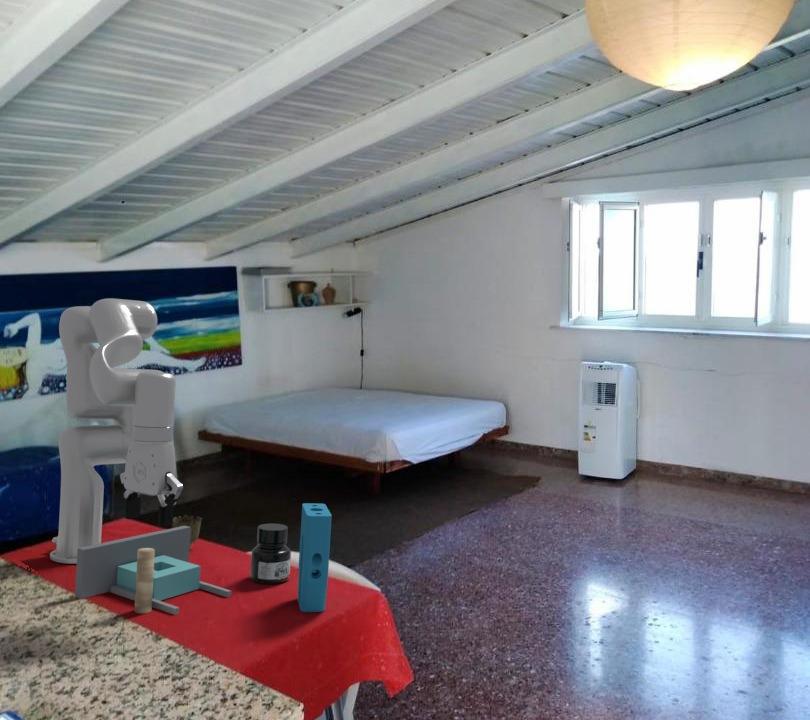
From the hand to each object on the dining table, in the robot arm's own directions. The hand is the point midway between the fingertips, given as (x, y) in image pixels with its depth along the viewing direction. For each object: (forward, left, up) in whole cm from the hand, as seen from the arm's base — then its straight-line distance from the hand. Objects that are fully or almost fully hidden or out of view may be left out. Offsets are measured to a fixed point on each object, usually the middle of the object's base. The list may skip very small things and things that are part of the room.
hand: (148, 521), depth 149 cm
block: (+22, +25, -18) cm, 38 cm away
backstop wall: (-5, +10, -18) cm, 21 cm away
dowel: (0, 0, -18) cm, 18 cm away
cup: (-28, +35, -18) cm, 48 cm away
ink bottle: (+4, +32, -18) cm, 37 cm away
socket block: (-8, +10, -18) cm, 22 cm away
